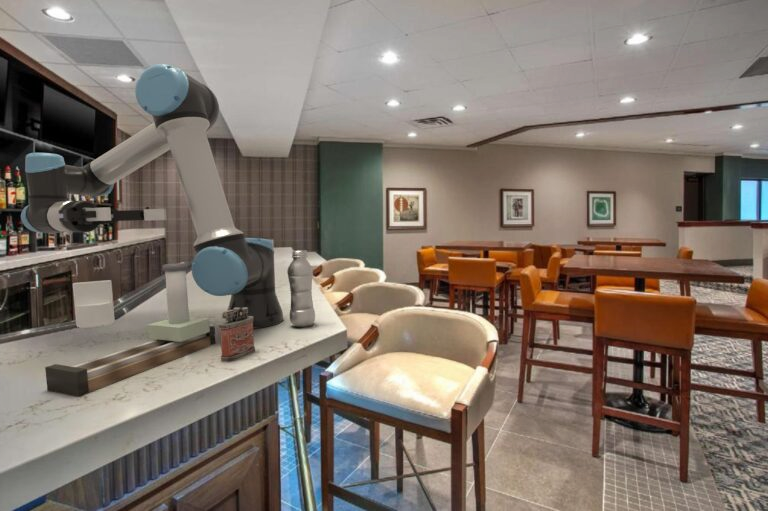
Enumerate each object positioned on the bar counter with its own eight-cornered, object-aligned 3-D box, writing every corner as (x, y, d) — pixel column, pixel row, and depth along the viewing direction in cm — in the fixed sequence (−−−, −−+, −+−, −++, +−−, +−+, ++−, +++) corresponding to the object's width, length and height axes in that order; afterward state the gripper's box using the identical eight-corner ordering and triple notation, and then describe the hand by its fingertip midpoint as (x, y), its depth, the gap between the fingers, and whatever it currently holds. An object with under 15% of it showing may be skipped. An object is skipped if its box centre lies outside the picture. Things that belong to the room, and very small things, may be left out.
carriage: (179, 328, 95) (174, 262, 94) (209, 331, 92) (205, 262, 91) (148, 338, 88) (143, 266, 87) (180, 341, 85) (175, 266, 83)
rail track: (189, 340, 97) (188, 323, 97) (215, 343, 95) (214, 326, 94) (47, 390, 70) (45, 367, 69) (78, 396, 67) (76, 372, 66)
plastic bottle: (310, 329, 105) (307, 251, 103) (285, 328, 106) (281, 251, 104) (319, 323, 111) (316, 249, 109) (295, 322, 112) (292, 249, 111)
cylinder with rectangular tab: (74, 329, 111) (70, 285, 110) (78, 322, 119) (74, 281, 118) (113, 324, 116) (110, 282, 114) (115, 318, 123) (112, 278, 122)
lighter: (247, 349, 90) (245, 303, 89) (258, 350, 88) (256, 305, 87) (217, 360, 83) (214, 311, 82) (229, 362, 81) (226, 313, 80)
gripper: (125, 230, 111) (185, 229, 103) (15, 234, 88) (82, 233, 80) (123, 202, 110) (183, 199, 103) (12, 198, 87) (78, 194, 79)
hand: (139, 214), depth 91 cm, fingers open, 13 cm apart
